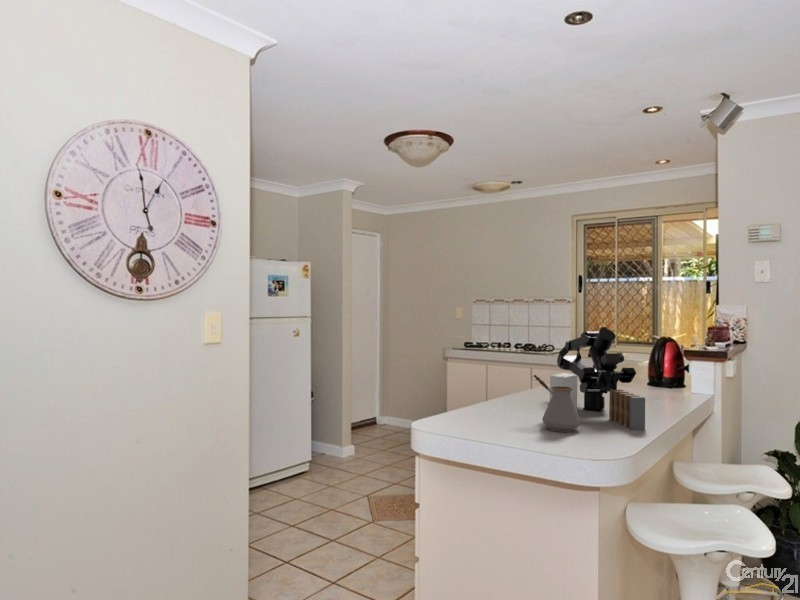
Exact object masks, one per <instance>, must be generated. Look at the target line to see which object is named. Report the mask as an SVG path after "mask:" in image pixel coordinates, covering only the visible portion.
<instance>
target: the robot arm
mask: <svg viewBox="0 0 800 600" xmlns="http://www.w3.org/2000/svg"><path fill="white" fill-rule="evenodd" d="M616 336H617V335H616V333H615V332H614V331H612V330H611V329H608V328H607V327H606V326H601V327H600V329H599V331H583V332H581V334H580V337H577V338H574V339H571V340H567V341H566V342H565V344H564V347H563V348H562V349H560V351H559V352H558V356H557V359H556V364H557V367H558V368H559V369H561V370H564V371H565V370H566V371H570V373H573V374H574V375H578V376H577V378H578V379H579V382H580V384H579V391H580V392H581V393H583V399H584V400H583V401H584V402H583V404H584V405H583V408H582V409H583V410H584V411H586V410H587V411H597V412H602V411H603V410H604V409H605V406H606V405H605V404H606V403H605V402H606V401H605V400H606V399H605V396H604V394H608V392H609V393H610V390H618V382H620V383H622V384H629V383H631V382H632V381H633V380H634V378H635V376H636V375H637V371H636V369H635V368H634V367H622V368H621V370H616V369H618V366H617V365H618V364H620V363H621V364H622V363H623V362H624V361H625V356H624V354H623V352H617V353H611V352H610V353H609V352H608V351H609V350H610V349H611V347H612V345H614V341H615V340H616ZM585 348H588V349H589V350H588V354H587V358H591V361H592V364H593V365H592V367H587V366H585V365H584V364H583V363H582V361H581V360H582V355H581V353H580V350H582V349H585ZM570 351H573V352H574V351H576V354H568V353H569V352H570Z"/></svg>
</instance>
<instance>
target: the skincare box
mask: <svg viewBox="0 0 800 600" xmlns="http://www.w3.org/2000/svg"><path fill="white" fill-rule="evenodd" d="M555 386H561V387H571V388H572V390H571V393H570V396H571V398H572V401H573V403H574V406H575V408H576V410H577V411H578V375H575V374H574V373H573V374H572V373H566V372H562V373H561V372H560V373H556V374H551V375H550V376H549V388H550V389H551V387H555ZM551 390H552V389H551ZM552 396H553V395H552V394H551V393H550V392H549V401H550V400H551V398H552Z"/></svg>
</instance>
